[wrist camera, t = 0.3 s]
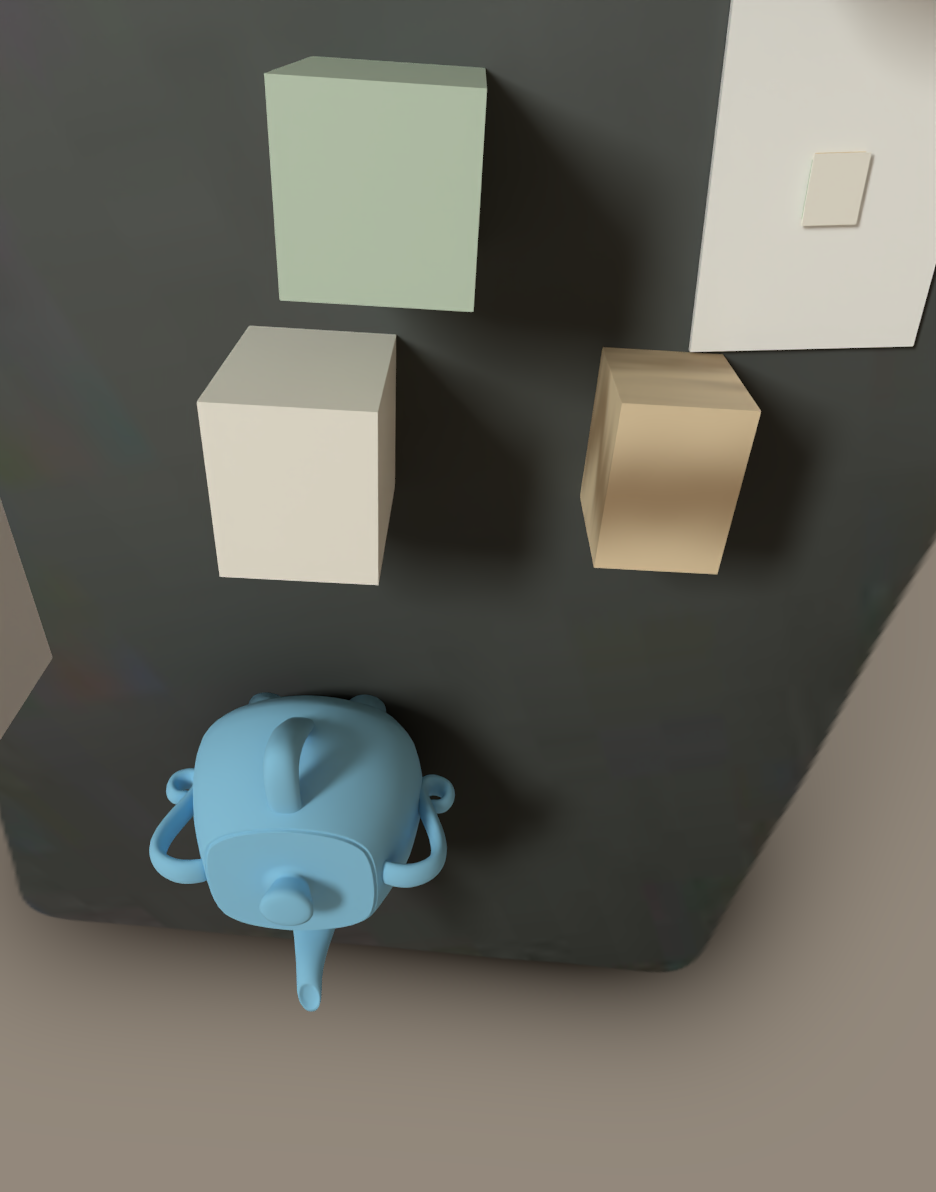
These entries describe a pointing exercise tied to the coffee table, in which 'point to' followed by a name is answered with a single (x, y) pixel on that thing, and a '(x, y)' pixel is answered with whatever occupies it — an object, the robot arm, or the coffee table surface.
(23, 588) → the robot arm
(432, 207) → the sage block
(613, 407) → the maple base block
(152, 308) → the coffee table surface
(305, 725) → the teapot
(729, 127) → the page
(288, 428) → the cream block
